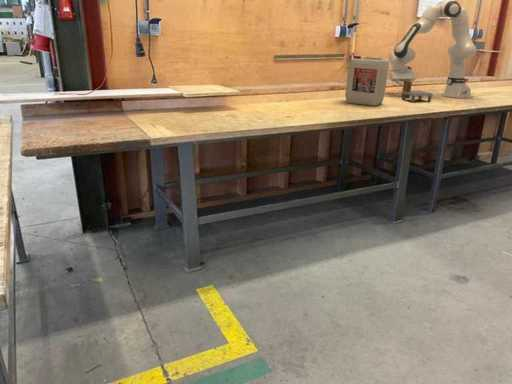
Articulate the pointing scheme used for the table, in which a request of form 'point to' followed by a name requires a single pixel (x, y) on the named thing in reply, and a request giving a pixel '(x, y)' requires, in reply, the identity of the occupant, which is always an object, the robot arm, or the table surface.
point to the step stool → (417, 93)
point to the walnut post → (406, 87)
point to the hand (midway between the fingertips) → (405, 85)
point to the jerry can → (366, 80)
